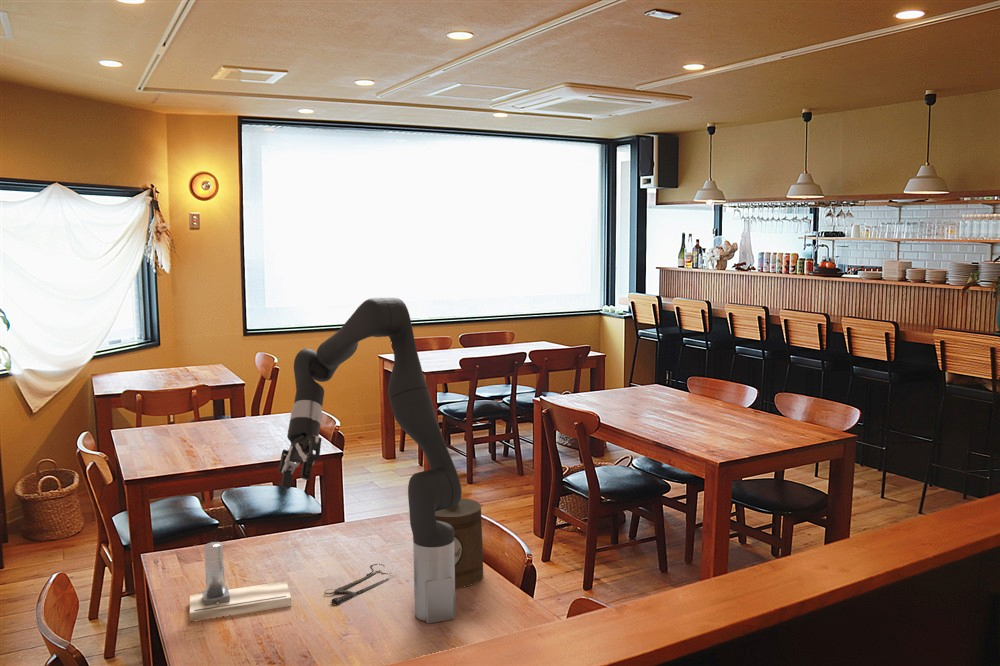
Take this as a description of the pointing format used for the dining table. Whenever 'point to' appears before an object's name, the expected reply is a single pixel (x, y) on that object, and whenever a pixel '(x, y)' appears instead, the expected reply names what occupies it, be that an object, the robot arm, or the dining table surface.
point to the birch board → (243, 601)
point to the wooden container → (465, 540)
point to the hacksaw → (349, 593)
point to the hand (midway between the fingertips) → (295, 483)
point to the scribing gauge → (215, 575)
